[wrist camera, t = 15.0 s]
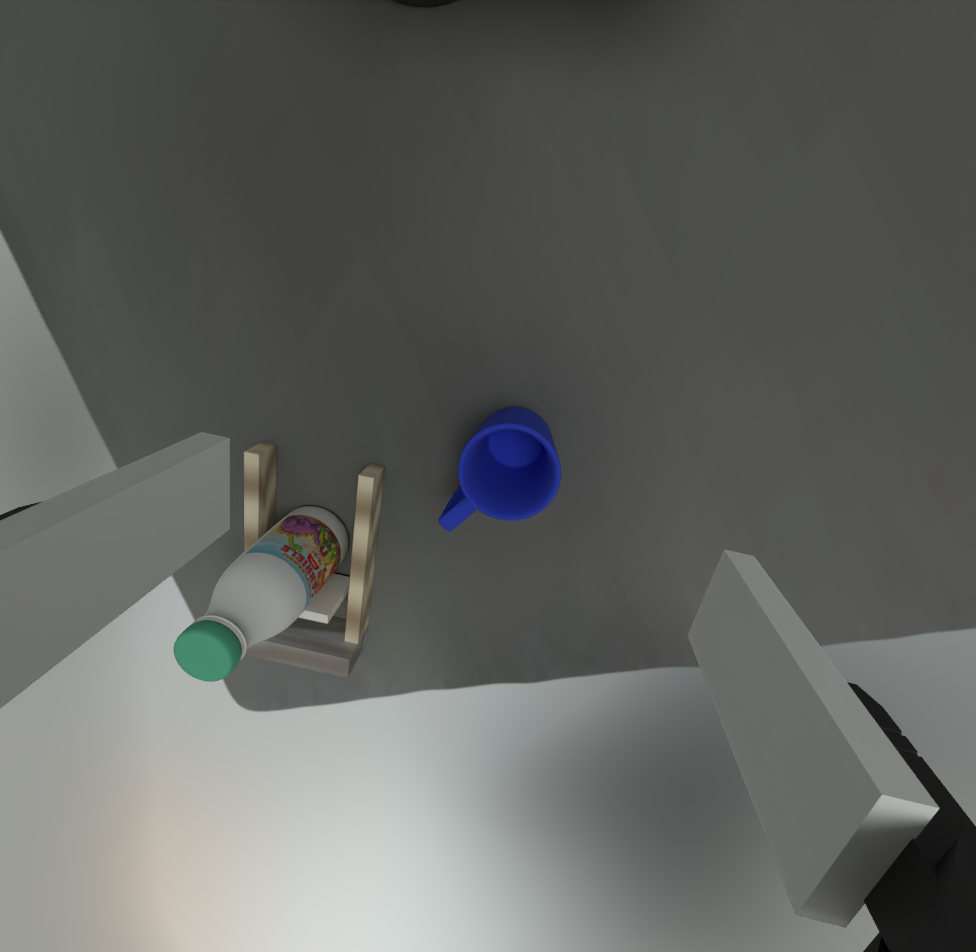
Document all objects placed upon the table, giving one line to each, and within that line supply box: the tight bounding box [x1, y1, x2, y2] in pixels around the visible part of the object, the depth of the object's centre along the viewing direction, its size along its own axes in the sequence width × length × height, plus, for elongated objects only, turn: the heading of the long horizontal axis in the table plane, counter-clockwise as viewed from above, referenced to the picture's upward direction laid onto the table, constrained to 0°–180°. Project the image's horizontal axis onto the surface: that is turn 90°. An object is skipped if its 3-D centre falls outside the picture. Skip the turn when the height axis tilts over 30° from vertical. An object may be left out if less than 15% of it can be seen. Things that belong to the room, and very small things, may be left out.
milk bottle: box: [174, 506, 349, 681], centre depth 47 cm, size 8×8×20 cm
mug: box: [439, 407, 561, 531], centre depth 46 cm, size 8×12×10 cm
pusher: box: [299, 573, 350, 624], centre depth 55 cm, size 4×9×7 cm, turn 80°
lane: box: [244, 442, 385, 678], centre depth 54 cm, size 22×13×6 cm, turn 170°
